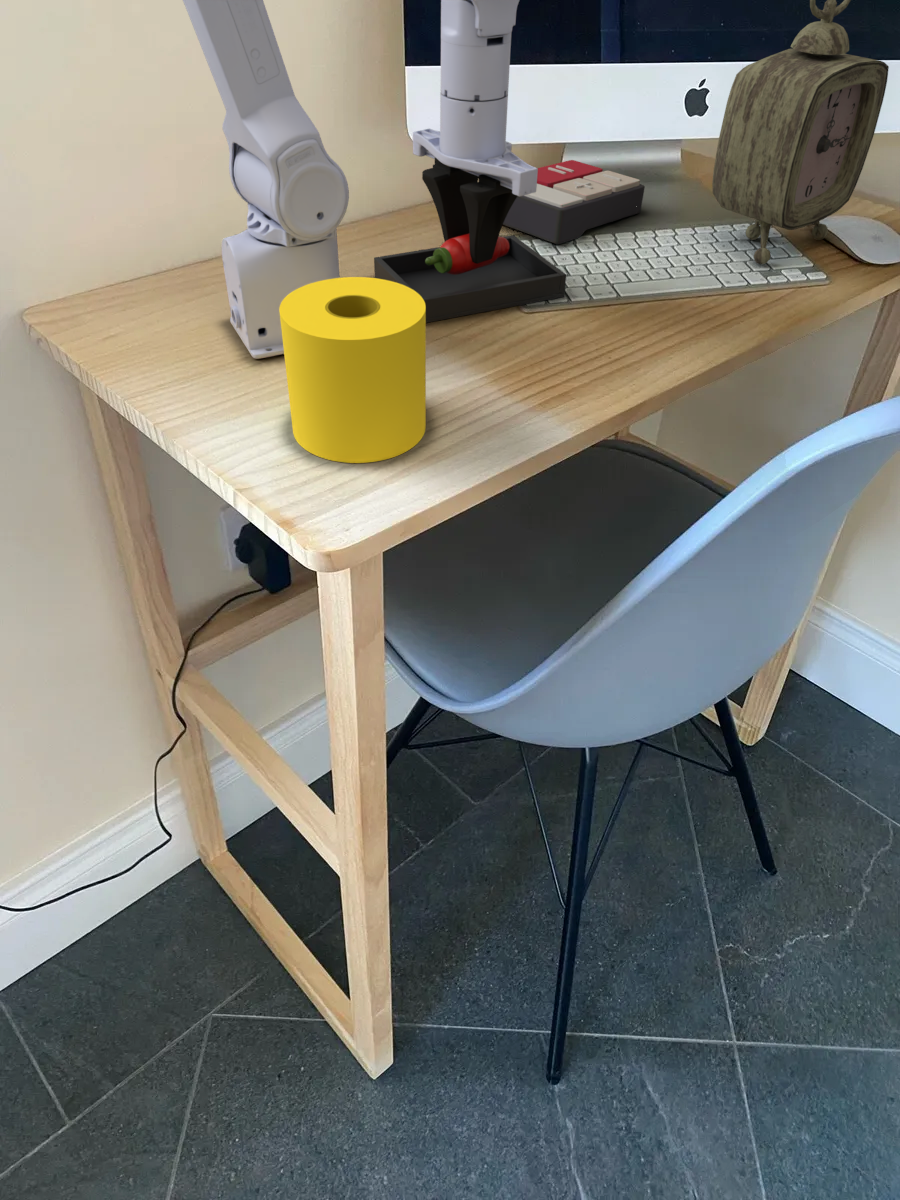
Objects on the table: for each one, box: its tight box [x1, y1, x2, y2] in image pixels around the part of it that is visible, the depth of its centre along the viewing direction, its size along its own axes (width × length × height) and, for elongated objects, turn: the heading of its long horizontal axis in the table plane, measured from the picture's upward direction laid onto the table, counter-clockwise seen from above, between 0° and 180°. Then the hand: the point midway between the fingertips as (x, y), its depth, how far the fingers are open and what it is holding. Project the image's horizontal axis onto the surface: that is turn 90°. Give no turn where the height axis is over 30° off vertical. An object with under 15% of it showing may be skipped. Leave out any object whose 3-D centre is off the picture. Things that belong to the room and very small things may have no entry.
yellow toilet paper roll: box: [279, 276, 427, 464], centre depth 66 cm, size 10×10×9 cm
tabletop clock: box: [711, 0, 890, 265], centre depth 89 cm, size 14×9×25 cm, turn 131°
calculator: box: [502, 159, 646, 245], centre depth 102 cm, size 11×4×15 cm
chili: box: [425, 233, 509, 275], centre depth 85 cm, size 10×3×3 cm, turn 130°
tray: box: [373, 234, 567, 323], centre depth 87 cm, size 15×11×2 cm
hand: (469, 254), depth 86 cm, fingers closed on chili, 3 cm apart
